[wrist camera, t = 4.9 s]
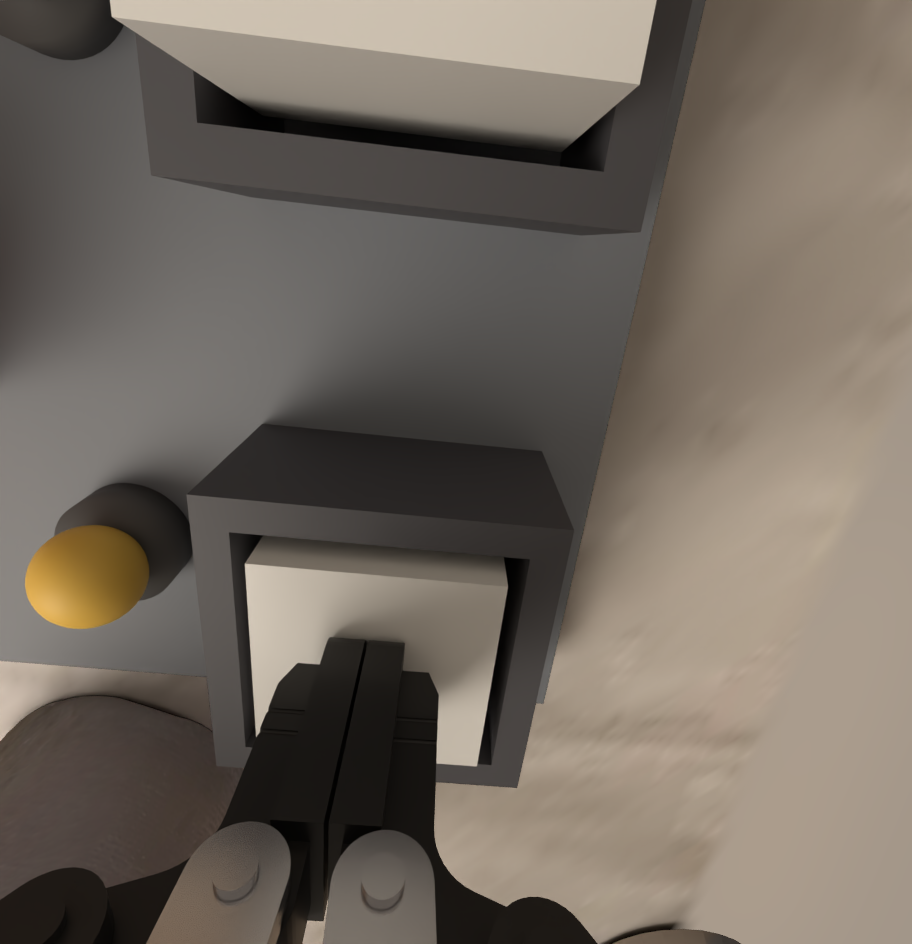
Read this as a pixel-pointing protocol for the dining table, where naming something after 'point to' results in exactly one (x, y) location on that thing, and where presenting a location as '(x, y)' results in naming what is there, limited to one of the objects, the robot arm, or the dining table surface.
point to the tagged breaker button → (381, 620)
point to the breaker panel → (296, 352)
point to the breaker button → (413, 61)
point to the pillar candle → (106, 791)
